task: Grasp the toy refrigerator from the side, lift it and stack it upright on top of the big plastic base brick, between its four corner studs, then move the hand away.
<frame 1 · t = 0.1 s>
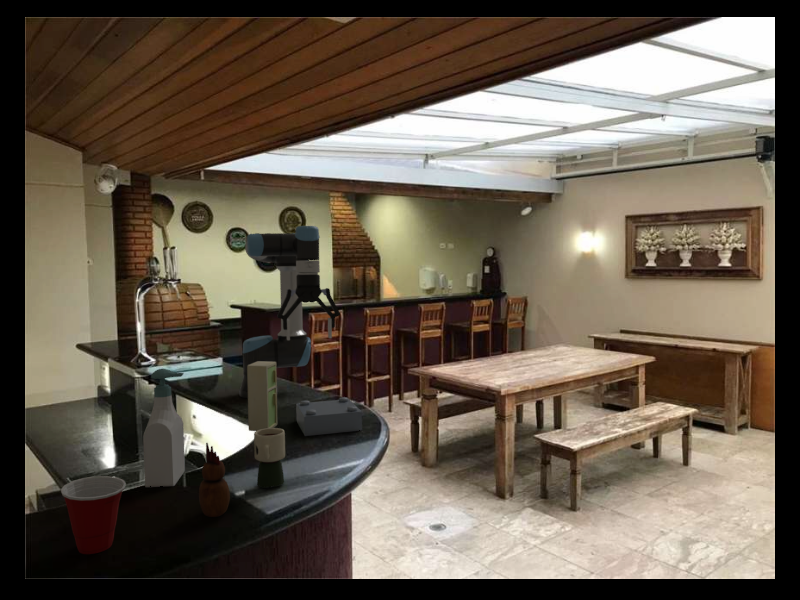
hand: (309, 338, 193), 28 cm above the counter, fingers open, 13 cm apart
base brick: (328, 425, 192), on the counter
toy refrigerator: (264, 428, 189), on the counter
white spray bottle: (169, 479, 145), on the counter
character mug: (270, 486, 140), on the counter
wooden figurine: (214, 514, 125), on the counter
plastic cup: (96, 548, 111), on the counter
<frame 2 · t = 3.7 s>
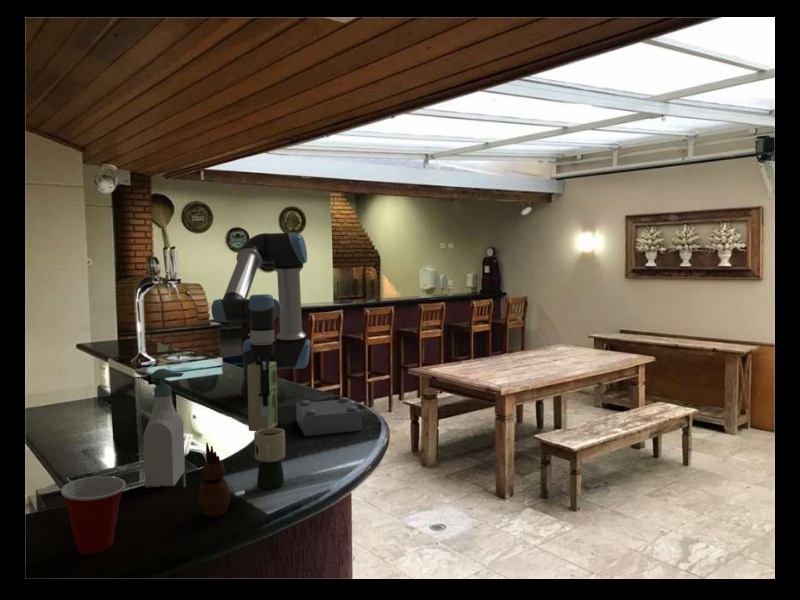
hand: (263, 412, 189), 5 cm above the counter, fingers closed on toy refrigerator, 10 cm apart
toy refrigerator: (264, 428, 189), on the counter, touching gripper
everything else where it was.
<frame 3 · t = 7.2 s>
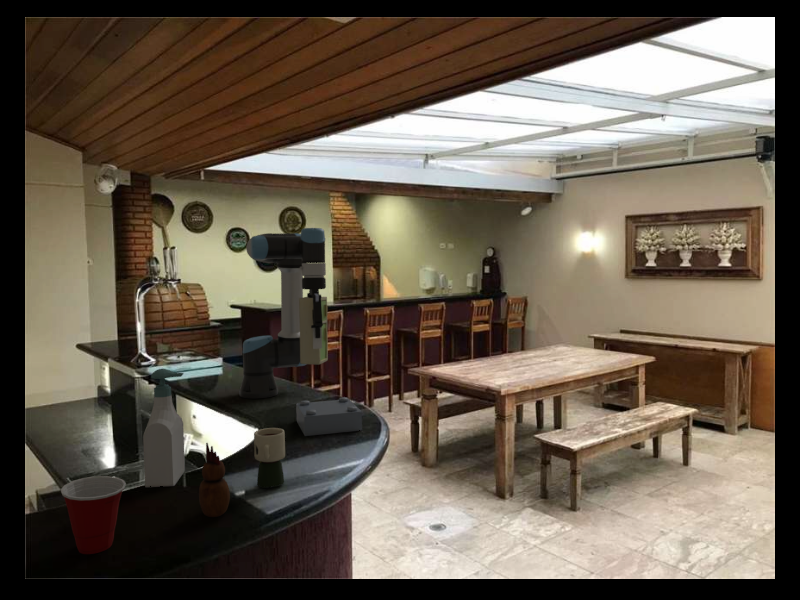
hand: (315, 346, 189), 26 cm above the counter, fingers closed on toy refrigerator, 10 cm apart
toy refrigerator: (315, 363, 189), point 21 cm above the counter, touching gripper
everything else where it was.
when the fingers open (13 cm above the counter, at t = 10.8 s): toy refrigerator drops 2 cm, resting on base brick.
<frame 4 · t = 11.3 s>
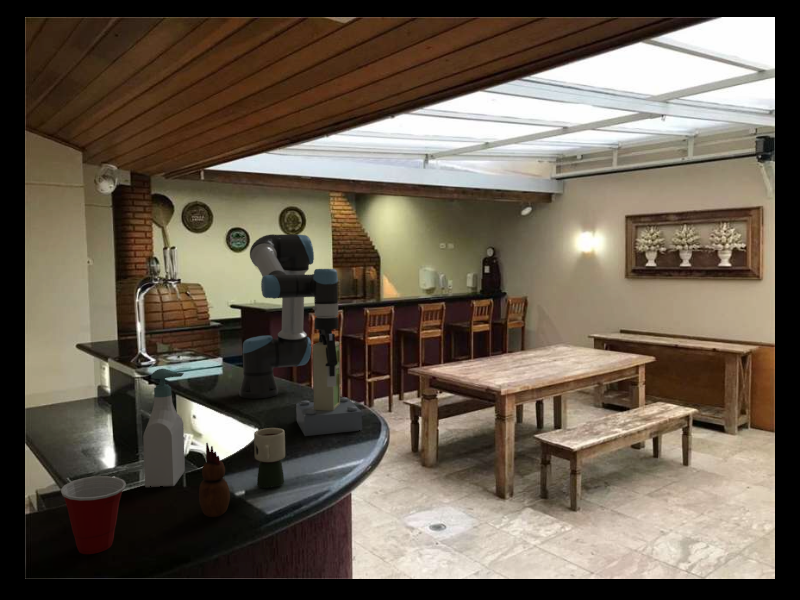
hand: (327, 382, 191), 14 cm above the counter, fingers open, 13 cm apart
toy refrigerator: (328, 408, 191), point 6 cm above the counter, touching base brick
everything else where it was.
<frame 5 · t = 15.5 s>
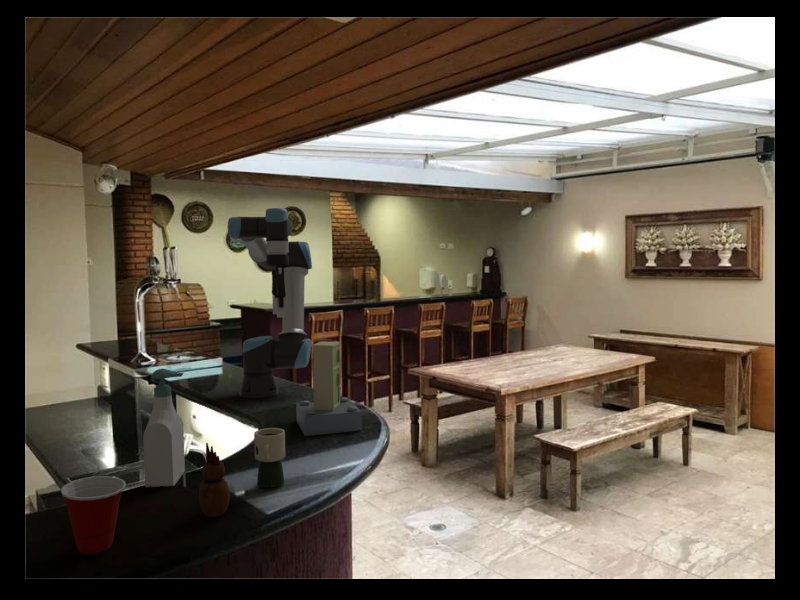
hand: (278, 315, 204), 35 cm above the counter, fingers open, 13 cm apart
nothing on the counter moved.
at the end: toy refrigerator inside the target area on the base brick (0.5 cm from its centre), point 5.8 cm above the base brick's base; toy refrigerator tilted 0°; the gripper is holding nothing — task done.
